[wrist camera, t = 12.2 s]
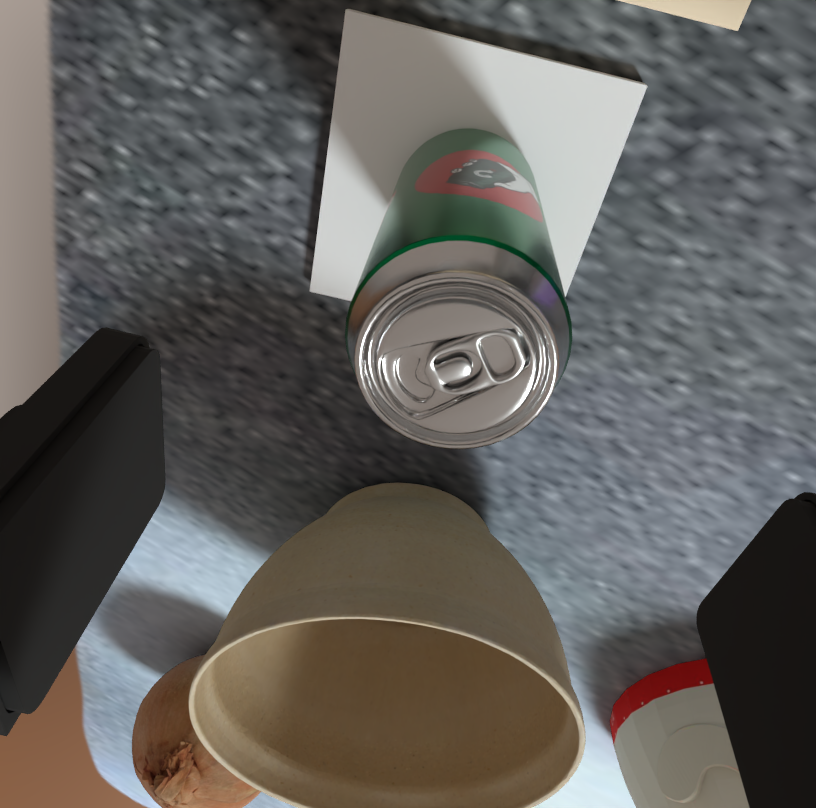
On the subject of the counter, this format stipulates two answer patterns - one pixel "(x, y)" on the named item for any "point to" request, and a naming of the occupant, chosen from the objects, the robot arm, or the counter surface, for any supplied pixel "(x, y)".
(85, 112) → the counter surface
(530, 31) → the counter surface
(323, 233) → the rubber mat
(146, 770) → the onion
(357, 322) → the soda can
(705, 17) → the header board
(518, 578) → the planter bowl
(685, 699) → the kitchen timer
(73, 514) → the robot arm
